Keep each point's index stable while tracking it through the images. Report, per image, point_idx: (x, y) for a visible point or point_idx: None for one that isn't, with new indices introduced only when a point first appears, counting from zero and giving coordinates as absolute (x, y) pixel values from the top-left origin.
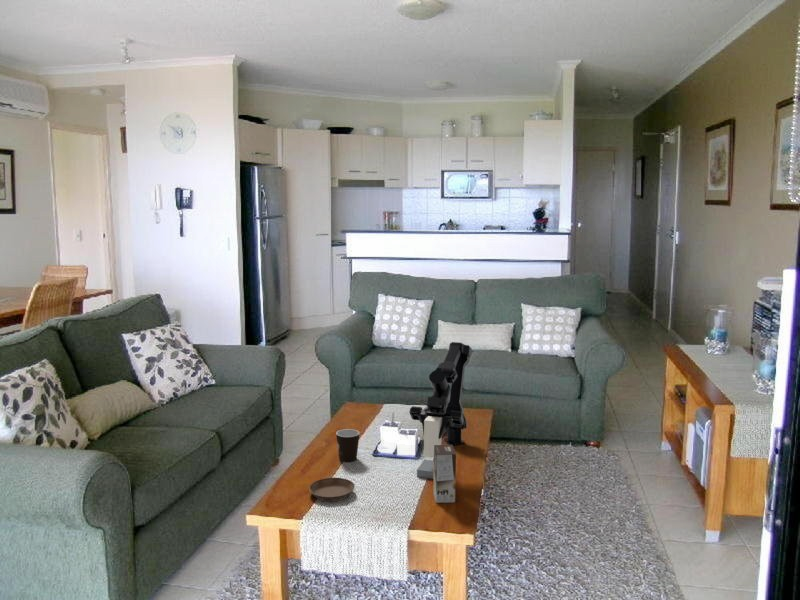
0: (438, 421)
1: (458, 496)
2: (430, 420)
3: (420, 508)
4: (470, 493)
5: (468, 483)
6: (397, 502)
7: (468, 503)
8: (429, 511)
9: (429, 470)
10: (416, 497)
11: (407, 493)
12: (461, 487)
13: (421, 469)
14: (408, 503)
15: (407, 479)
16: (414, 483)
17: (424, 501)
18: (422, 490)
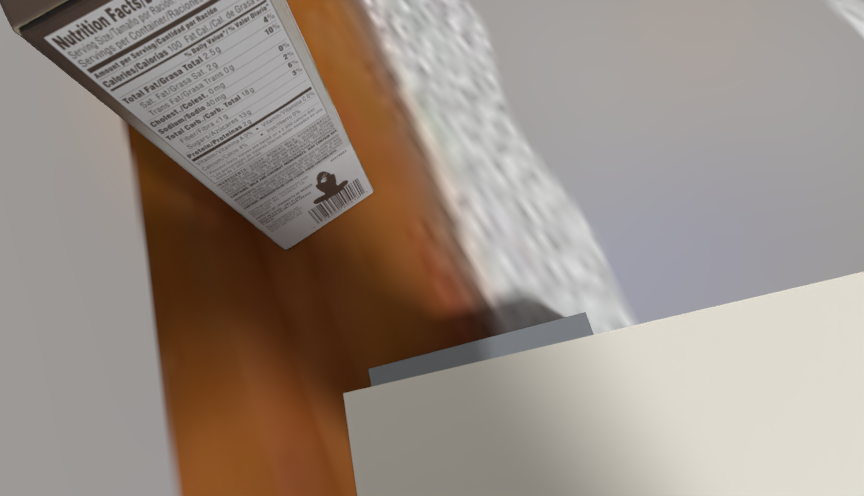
0: (359, 472)
1: (226, 211)
2: (786, 379)
3: (347, 18)
4: (174, 280)
5: (222, 413)
6: (469, 7)
7: (157, 170)
8: (299, 17)
9: (497, 353)
10: (418, 90)
11: (483, 101)
12: (245, 328)
13: (560, 337)
14: (419, 25)
15: (598, 251)
16: (525, 224)
17: (362, 77)
18: (433, 171)
